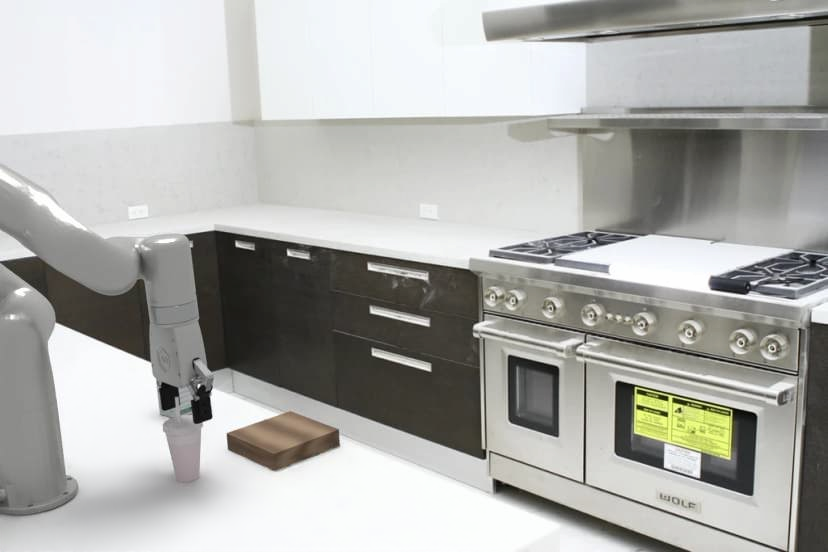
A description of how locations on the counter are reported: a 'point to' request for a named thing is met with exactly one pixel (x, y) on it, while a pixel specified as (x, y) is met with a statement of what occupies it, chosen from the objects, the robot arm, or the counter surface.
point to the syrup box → (184, 402)
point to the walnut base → (283, 440)
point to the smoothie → (184, 445)
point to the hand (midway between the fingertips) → (186, 414)
